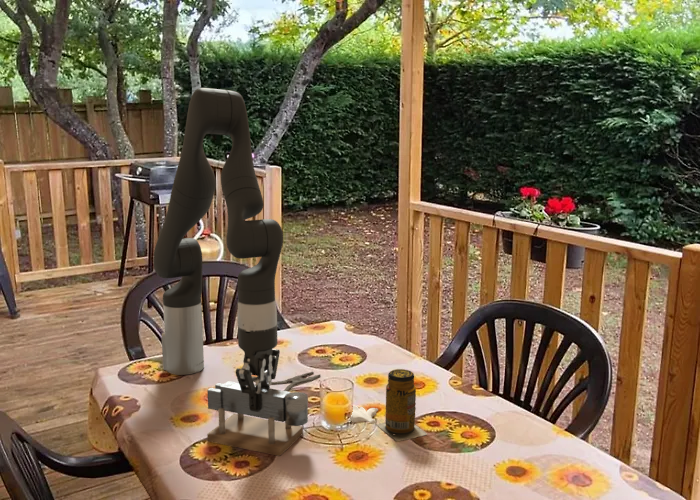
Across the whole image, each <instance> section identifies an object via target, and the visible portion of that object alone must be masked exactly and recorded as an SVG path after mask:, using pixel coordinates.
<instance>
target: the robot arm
mask: <svg viewBox="0 0 700 500" xmlns="http://www.w3.org/2000/svg"><path fill="white" fill-rule="evenodd" d="M187 108H188V110H187V115H186V120H185V121H186V122H185V129H184V137H183V143H182V149H181V153H180V157H179V161H178V165H177V169H176V172H175V176H174V179H173V182H172V188H171V191H170V197H169V202H168V206H167V211H166V214H165V218H164V221H163V224H162V226H161V227H162V228H161V230H160V233H159V235H158V237H157V240H156V243H155V246H154V250H153V259H152V261H153V262H152V263H153V268H154V272H155V273H156V275H157V276H158V277H159V278H162V279H174V278H175V279H176V278H180V280H179V281H178V282H177V283H176V284H175V285H173V286H172V287H170V288H168V289H167V290H165V291H164V292H163V294H162V305H163V306H162V309H163V325H164V332H162V333H161V336H160V337H161V351H162V352H161V354H162V369H163V371H167V373H170V374H171V375H175V376H176V375H178V376H180V375H181V376H183V375H185V376H187V375H192V374H196V373H199V372H200V371H202V370H203V369H204V368H205V359H204V337H203V336H204V334H203V313H202V293H203V253H202V248H201V244H200V243H199V242H198V240H197V239H196V238H193V237H185V236H186V235H187V233H188V232H190V230H192V229H193V228H194V227H195V225H197V224H198V223H199V222H200V221H202V219H203V218H204V216H206V214H207V213H208V212H209V211H210V208H211V205H212V202H213V199H214V195H215V193H216V188H217V179H216V175H215V173H214V170H213V168H212V166H211V164H210V162H209V160H208V158H207V156H206V153H205V151H204V138H205V137H206V135H208V134H210V135H221V136H222V135H223V136H230V138H231V141H232V145H231V146H232V147H231V149H230V152H229V154H228V155H227V158H226V161H225V163H224V165H223V167H222V170H221V173H220V185H221V190H222V193H223V197H224V200H225V204H226V205H225V206H226V209H227V230H226V247H227V250H228V252H229V253H230V254H231V255H232V256H233V257H235V258H236V259H241V260H242V259H243V260H244V259H252V258H253V259H254V258H260V260H259V261H258V262H257V264H256V265H253V266H252V267H249V268H245V269H242V270H241V271H240V272H239V273H238V275H237V314H236V315H237V343H238V348H239V349H240V350H242V351H243V352H244V354H243V355H244V357H243V365H242V367H241V368H238V367H237V368H236V369H235V375H236V379H237V381H238V382H237V383H239V385H240V388H241V391H242V393H248V394H249V408H250V410H251V411H256V412H259V411H260V410H261V393H260V390H261V387H264V388H270V386H272V385H271V383H272V382H273V381H272V380H276V376H277V371H278V364H279V360H280V349H276V347H277V346H278V312H277V311H278V309H277V303H276V287H275V286H276V283H275V282H276V274H277V269H278V264H279V260H280V256H281V255H282V254H281V253H282V248H283V244H284V232H283V228H282V226H281V225H280V223H279V222H278V221H276V220H275V219H272V218H271V219H270V218H264V219H263V218H262V219H251V218H254V217H255V216H257V215H259V214H260V213H261V212H262V211H263V208H264V199H263V198H264V197H263V195H262V192H261V189H260V185H259V182H258V178H257V175H256V171H255V166H254V160H253V151H252V140H251V132H250V127H249V126H250V125H249V124H250V123H249V117H248V112H247V107H246V104H245V101H244V97H243V95H241V93H239V92H237V91H234V90H228V89H219V88H218V89H217V88H209V87H199V88H195V90H194V91H193V93H192V95H191V96H190V100H189V104H188V107H187ZM248 219H249V220H248ZM184 237H185V238H184ZM254 383H255V384H256V387H255V386H254V385H255V384H254ZM246 386H247V387H246ZM270 389H271V388H270Z"/></svg>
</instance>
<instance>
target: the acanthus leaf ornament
mask: <svg viewBox="0 0 700 500" xmlns="http://www.w3.org/2000/svg"><path fill="white" fill-rule="evenodd" d="M352 405H353V412H352V415H351V418H350V419H351V421H353V422H352V423H357V422H367V423H369V424H377V421H376V420H375V418H374V419H373V417H374V416H376V415H377V412H378V411H379V409H378V408H375V407H371V408H368V409H367V410H366V409H365V408H364V407H363V406H360V407H359V406H357V405H355V404H352Z"/></svg>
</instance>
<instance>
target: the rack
mask: <svg viewBox="0 0 700 500" xmlns="http://www.w3.org/2000/svg"><path fill="white" fill-rule="evenodd" d="M303 434H304V426H303V425H301V426H291V425H288V424H286V423H285V422H280V421H275V420H274V417H269V418H268V419H265V418H260V417H254V416H249V415H244V414H239V413H233V414H231V415H230V416H229V417H228V418H227V419H226V411H225V409H224V408H219V409H218V425H217V426H215V428H213V429H212V430H211V431H209V432H208V433H207V435H206V436H207V437H206V438H207V441H208V442H211V443H216V444H219V445H225V446H228V447H229V446H230V447H234V448H235V447H236V448H239V449H244V450H249V451H252V452H253V451H255V452H259V453H265V454H270V455H272V456H278V457H280V456H282V455H283V454H284V453H285V452H286V451H287V450H288V449H289V448H290V447H291V446H292V445H293V444H294V443H295V442H296V441H297V440H298V439H299V438H300V437H301V436H302V435H303Z"/></svg>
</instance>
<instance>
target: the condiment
mask: <svg viewBox="0 0 700 500" xmlns="http://www.w3.org/2000/svg"><path fill="white" fill-rule="evenodd" d="M416 393H417V388H416V385H415V374H414V372H412V371H411V370H408V369H405V368H404V369H403V368H397V369H393V370H390V371H389V372H388V374H387V384H386V387H385V419H384V420H385V422H380V423H376V426H377V427H379V428H380V429H381V430H382V431H384V432H385V433H386V434H388V436H389V437H391V438H392V439H394V441H396V442H399V441H404V440H405V441H406V440H411V439H416V438H417V437H423V436H426V435H427V436H428V433H427V432H426V431H425V430H423V429H421V427H419V426H418V425H416V409H417V407H416V400H417V399H416V397H417V394H416Z"/></svg>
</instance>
